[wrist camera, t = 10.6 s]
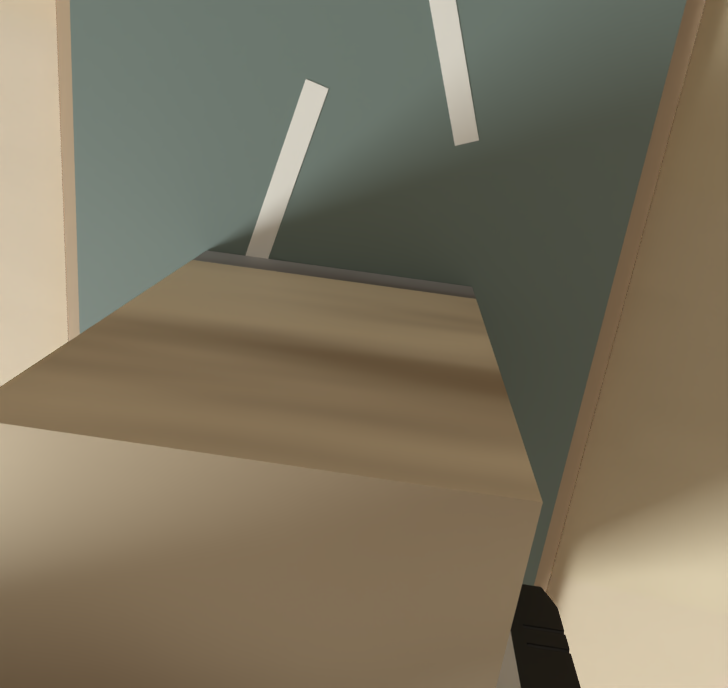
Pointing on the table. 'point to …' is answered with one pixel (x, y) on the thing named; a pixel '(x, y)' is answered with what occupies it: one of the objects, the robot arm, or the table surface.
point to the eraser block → (265, 489)
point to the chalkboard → (385, 166)
